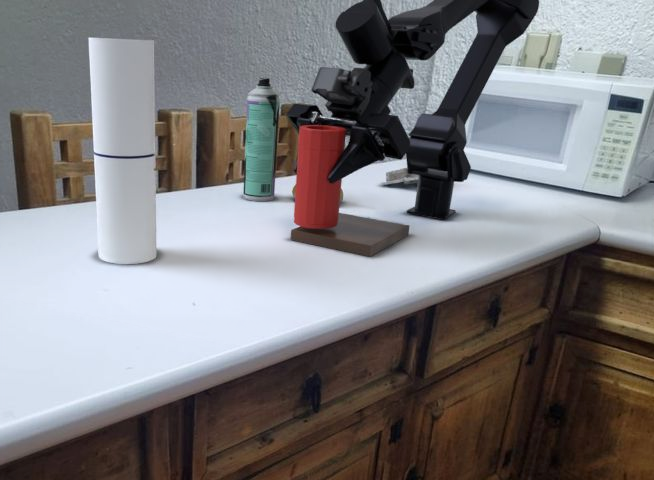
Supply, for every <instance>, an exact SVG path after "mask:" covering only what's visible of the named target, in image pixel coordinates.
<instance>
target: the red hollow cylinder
mask: <svg viewBox="0 0 654 480" xmlns="http://www.w3.org/2000/svg"><path fill="white" fill-rule="evenodd" d="M346 138H347V137H346V129H345V128H342V127H337V126H327V125H305V126H300V129H299V134H298V147H297V155H298V160H297V175H296V179H295V185H296V192H295V198H294V210H293V211H294V212H293V224H294V225H296V226H298V227H300V226H302V227H306V228H313V229H327V228H333V227H335V226H337V223H338V216H339V213H340V205H341V203H340V194H341V189H342V183H343V181H342V180H343V178H342V179H340V180H339V181H337V182H335V183H333V184H332V183H330V182H329V181H328V176H329V174H330V172H331V170H332V168H333V167H334V165H335V164H336V162H337V161H338V159H339V157H340V156H341V154H342V153H343V151H344V150H345V148H346Z"/></svg>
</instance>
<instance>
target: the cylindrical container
mask: <svg viewBox="0 0 654 480" xmlns="http://www.w3.org/2000/svg"><path fill="white" fill-rule="evenodd" d="M88 57H89V58H88V59H89V76H90V79H89V80H90V94H91V95H90V98H91V99H90V100H91V101H90V102H91V120H92V142H93V143H92V144H93V163H94V164H93V165H94V166H93V167H94V184H95V204H96V205H95V206H96V227H97V228H96V229H97V249H98V250H97V251H98V258H99V259H100V260H102V261H104V262H107V263H111V264H117V265H136V264H143V263H147V262H151V261H153V260H155V259H156V257H157V179H156V177H157V174H156V171H157V170H156V168H157V167H156V166H157V165H156V164H157V163H156V95H155V94H156V93H155V92H156V89H155V87H156V86H155V40H154V39H131V38H108V37H107V38H104V37H88Z"/></svg>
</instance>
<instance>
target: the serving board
mask: <svg viewBox="0 0 654 480" xmlns="http://www.w3.org/2000/svg"><path fill="white" fill-rule="evenodd" d="M409 232H410V225H409V224H404V223H399V222H392V221H387V220H381V219H377V218H370V217H365V216H360V215H353V214H349V213H343V212H339V216H338V223H337V226H335V227H333V228H327V229H313V228H306V227H302V226H297V227H294V228H292V229H291V231H290V241H295V242H299V243H304V244H309V245H313V246H318V247H322V248H327V249H331V250H337V251H341V252H346V253H351V254H354V255H360V256H363V257H369V258H371V257H373V256H374V255H376V254H378V253H379V252H382V251H383V250H385V249H386V248H388V247H390V246H392V245H393V244H395V243H397V242H399V241H401V240H403V239H404V238H406V237H409Z"/></svg>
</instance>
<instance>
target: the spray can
mask: <svg viewBox="0 0 654 480" xmlns="http://www.w3.org/2000/svg"><path fill="white" fill-rule="evenodd" d="M258 79H259V80H258V83H257V85H255V88H254V89H252V90H251V91H250V92H248V93H247V95H248V96H247V97H246V119H245V121H246V122H245V143H244V144H245V146H244V170H243V195H242V197H243V199H245V200H248V201H254V202H269V201H273V200H274V199H275V190H276V189H275V188H276V173H277V155H278V138H279V137H278V136H279V123H280V122H279V121H280V105H281V104H280V103H281V99H280V95H281V94H280V93H278V92H277V91H276V90H275V89H273V86H272V85H271V83H270V82H271V80H270V78H269V77H260V78H258Z"/></svg>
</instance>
